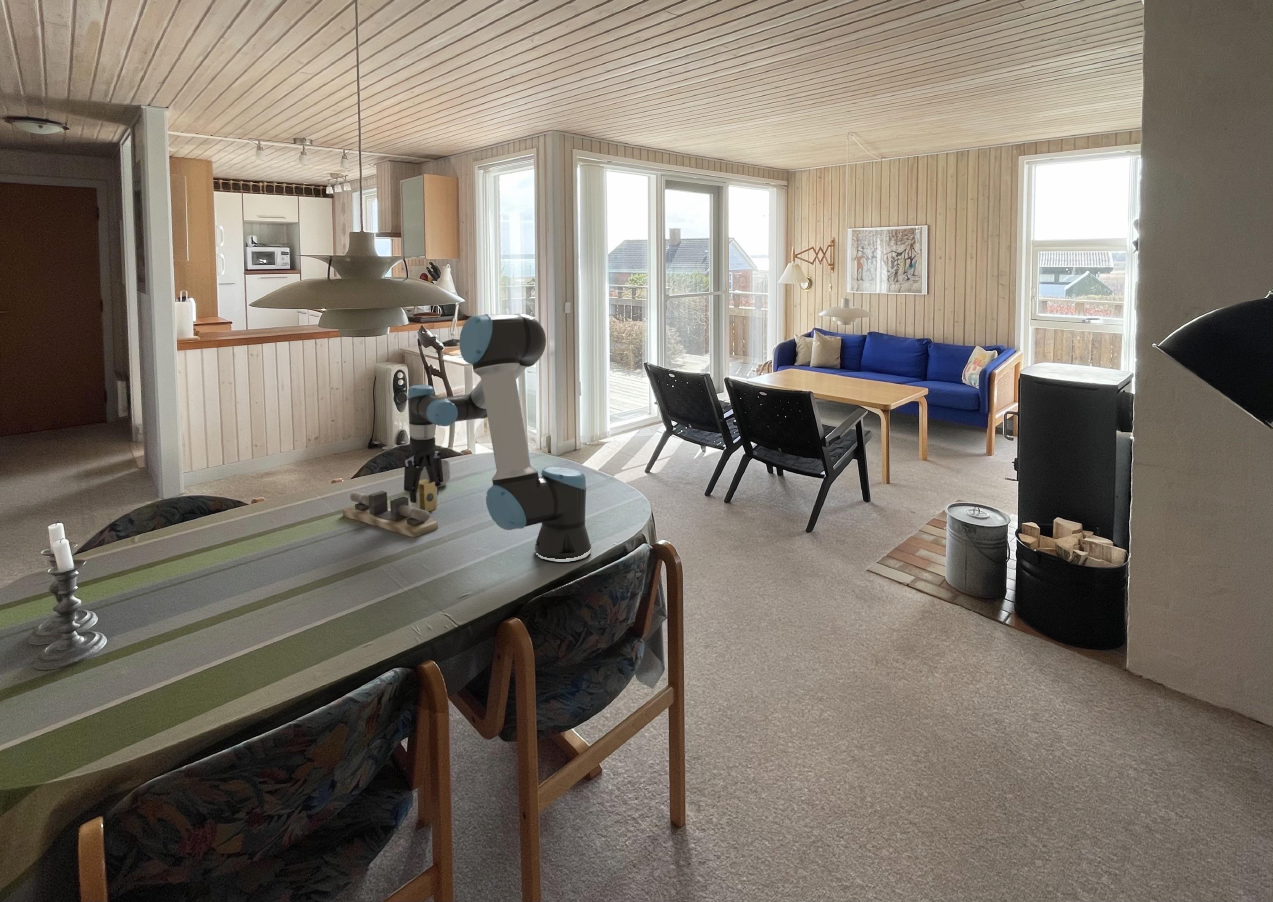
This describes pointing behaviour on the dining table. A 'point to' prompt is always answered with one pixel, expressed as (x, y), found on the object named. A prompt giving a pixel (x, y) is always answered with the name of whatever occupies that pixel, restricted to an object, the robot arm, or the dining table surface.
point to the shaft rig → (390, 514)
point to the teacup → (444, 468)
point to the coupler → (427, 495)
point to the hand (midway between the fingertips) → (424, 508)
